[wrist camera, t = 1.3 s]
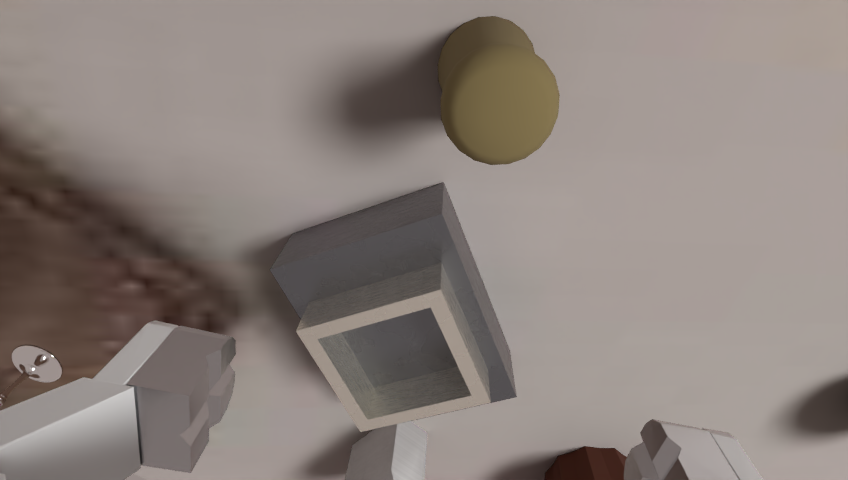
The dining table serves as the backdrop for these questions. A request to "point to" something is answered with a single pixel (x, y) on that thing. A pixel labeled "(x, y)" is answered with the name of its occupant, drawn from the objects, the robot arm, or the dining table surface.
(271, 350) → the dining table surface
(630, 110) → the dining table surface
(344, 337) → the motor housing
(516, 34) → the cork
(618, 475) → the muffin
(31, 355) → the wineglass
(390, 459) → the white box
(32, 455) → the robot arm
